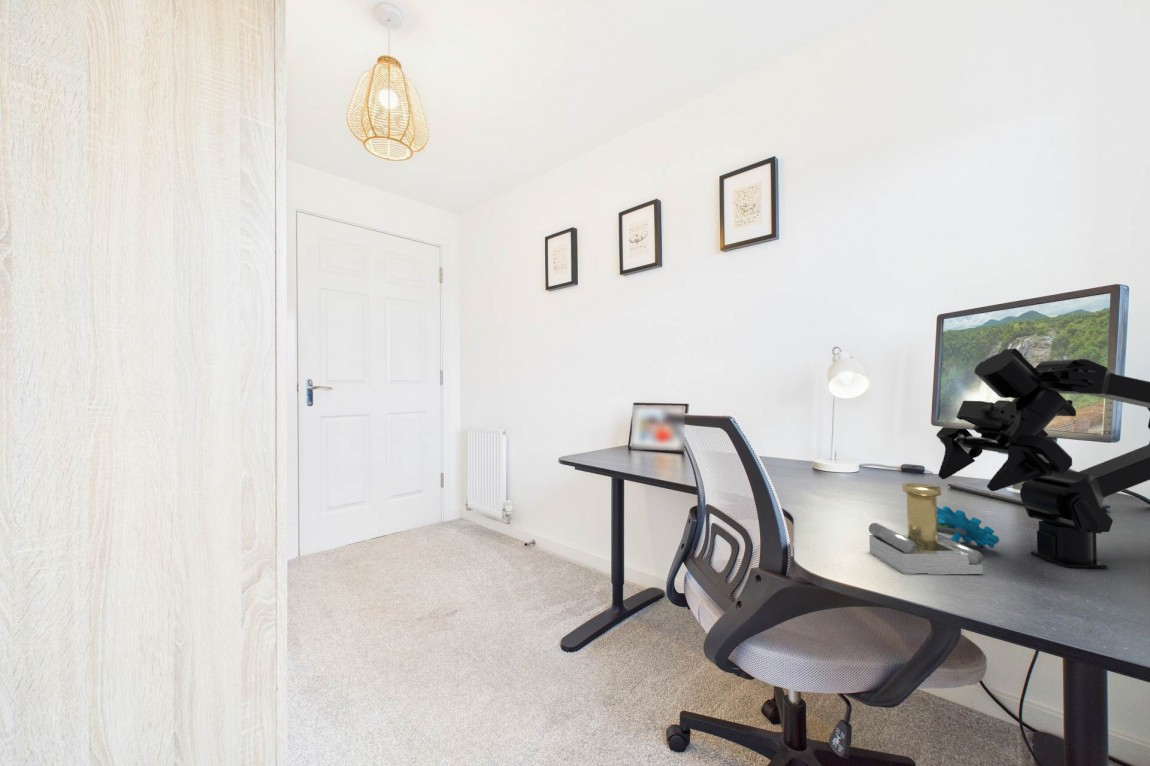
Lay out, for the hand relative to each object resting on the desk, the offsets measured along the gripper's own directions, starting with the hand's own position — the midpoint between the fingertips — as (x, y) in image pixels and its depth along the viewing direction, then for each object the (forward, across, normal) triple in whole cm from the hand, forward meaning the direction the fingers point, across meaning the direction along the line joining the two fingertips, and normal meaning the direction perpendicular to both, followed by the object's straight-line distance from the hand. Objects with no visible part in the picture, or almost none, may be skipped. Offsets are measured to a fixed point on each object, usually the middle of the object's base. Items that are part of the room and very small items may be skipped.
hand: (963, 483), depth 76 cm
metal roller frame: (+15, 0, +4) cm, 15 cm away
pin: (+15, 0, +4) cm, 15 cm away
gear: (+5, -8, +14) cm, 17 cm away
